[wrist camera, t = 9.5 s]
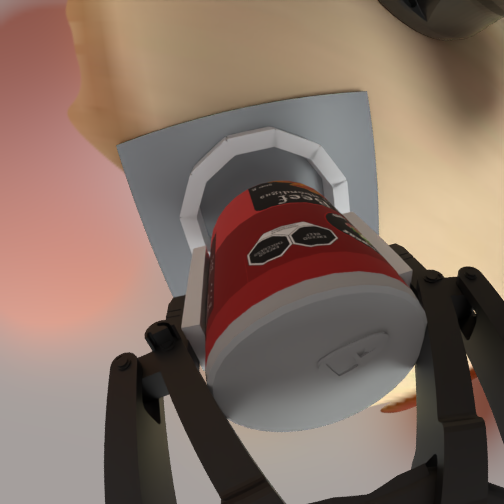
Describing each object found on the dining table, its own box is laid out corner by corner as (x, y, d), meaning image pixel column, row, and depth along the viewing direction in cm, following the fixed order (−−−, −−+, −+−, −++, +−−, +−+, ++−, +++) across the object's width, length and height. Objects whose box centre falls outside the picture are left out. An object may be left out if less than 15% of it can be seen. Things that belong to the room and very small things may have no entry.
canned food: (355, 220, 18) (457, 333, 9) (281, 305, 21) (319, 442, 11) (263, 149, 16) (330, 225, 6) (188, 254, 18) (165, 407, 9)
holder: (120, 143, 20) (104, 150, 17) (361, 91, 20) (382, 91, 17) (179, 302, 28) (175, 326, 25) (374, 256, 28) (389, 275, 25)
